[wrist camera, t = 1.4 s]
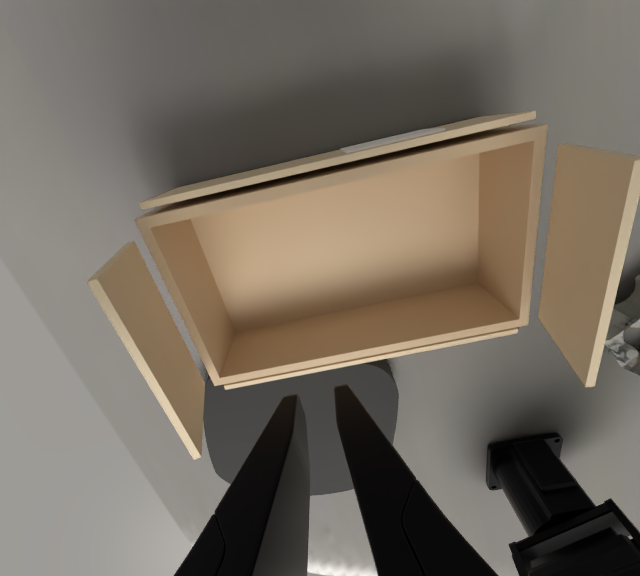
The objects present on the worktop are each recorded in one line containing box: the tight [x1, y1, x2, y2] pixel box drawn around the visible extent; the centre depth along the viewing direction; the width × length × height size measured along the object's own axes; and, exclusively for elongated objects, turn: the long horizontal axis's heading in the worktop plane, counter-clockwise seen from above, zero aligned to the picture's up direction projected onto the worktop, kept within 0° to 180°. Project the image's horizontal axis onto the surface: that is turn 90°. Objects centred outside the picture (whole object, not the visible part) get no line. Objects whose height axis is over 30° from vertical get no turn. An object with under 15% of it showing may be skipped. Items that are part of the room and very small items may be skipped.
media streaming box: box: [203, 359, 399, 496], centre depth 25 cm, size 15×15×3 cm
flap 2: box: [538, 144, 640, 387], centre depth 12 cm, size 8×1×5 cm, turn 12°
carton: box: [134, 111, 548, 390], centre depth 18 cm, size 11×18×5 cm, turn 102°
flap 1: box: [87, 241, 205, 460], centre depth 13 cm, size 8×1×5 cm, turn 12°
